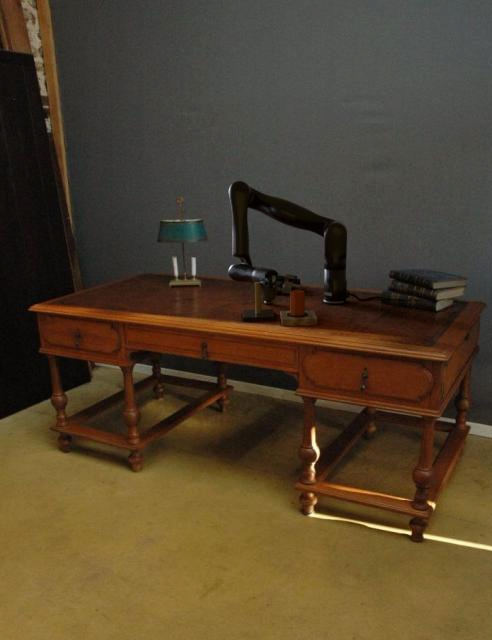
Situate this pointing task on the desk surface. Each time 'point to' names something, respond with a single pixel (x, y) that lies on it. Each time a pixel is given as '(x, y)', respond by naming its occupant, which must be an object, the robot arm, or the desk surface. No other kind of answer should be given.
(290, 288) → the fossil
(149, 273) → the desk surface
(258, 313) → the hat stand
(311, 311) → the grey stone tile
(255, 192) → the robot arm
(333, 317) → the desk surface
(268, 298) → the dark ridged round part
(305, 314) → the hat
